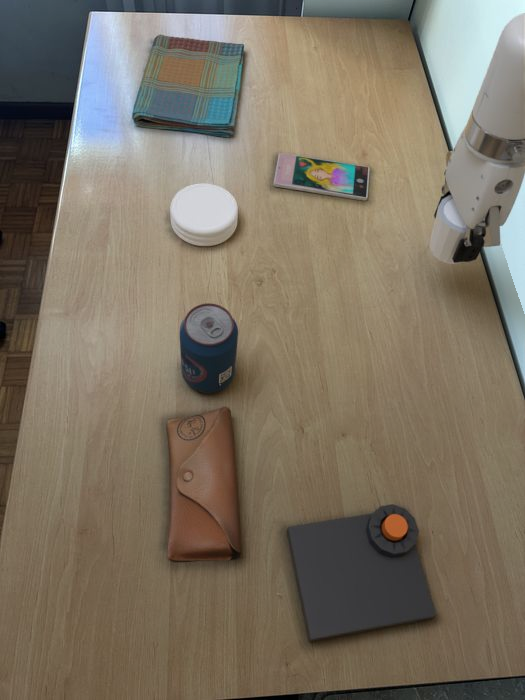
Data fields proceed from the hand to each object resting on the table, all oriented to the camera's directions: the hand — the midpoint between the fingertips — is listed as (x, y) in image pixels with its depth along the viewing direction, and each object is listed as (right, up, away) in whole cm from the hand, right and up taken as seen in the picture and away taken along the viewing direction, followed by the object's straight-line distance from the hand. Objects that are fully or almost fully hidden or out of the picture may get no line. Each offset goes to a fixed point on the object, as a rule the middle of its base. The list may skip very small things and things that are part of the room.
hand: (454, 237), depth 89 cm
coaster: (-35, +4, +12) cm, 37 cm away
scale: (-15, -40, -14) cm, 45 cm away
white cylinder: (0, -1, +2) cm, 2 cm away
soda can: (-33, -18, -2) cm, 38 cm away
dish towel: (-38, +31, +27) cm, 56 cm away
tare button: (-11, -35, -14) cm, 40 cm away
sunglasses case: (-33, -31, -10) cm, 47 cm away
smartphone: (-16, +13, +18) cm, 27 cm away
